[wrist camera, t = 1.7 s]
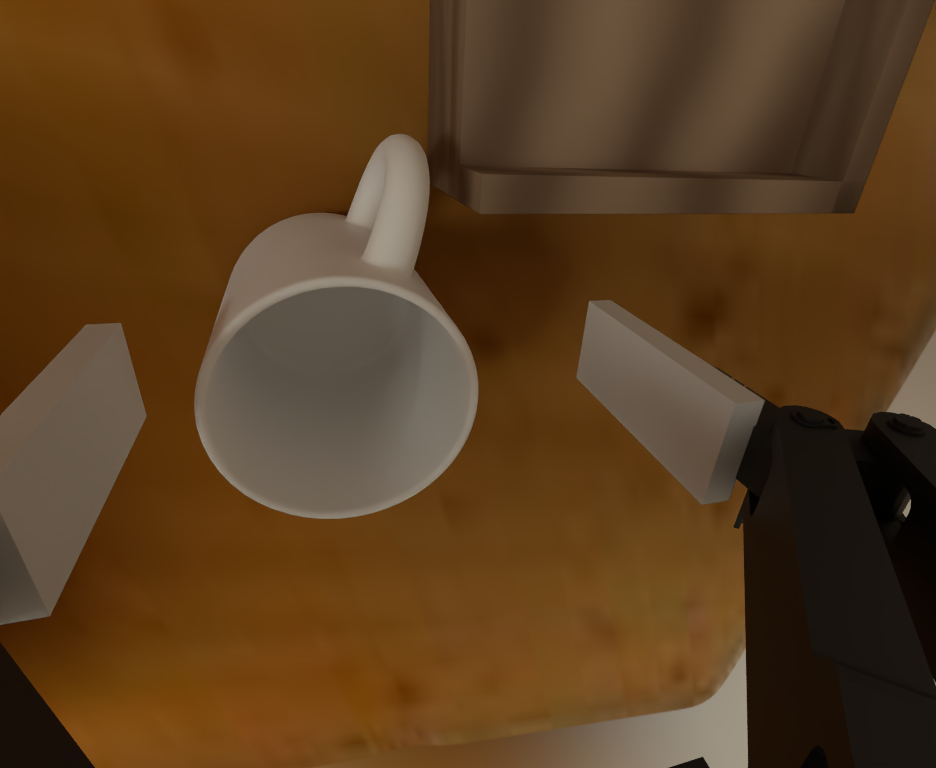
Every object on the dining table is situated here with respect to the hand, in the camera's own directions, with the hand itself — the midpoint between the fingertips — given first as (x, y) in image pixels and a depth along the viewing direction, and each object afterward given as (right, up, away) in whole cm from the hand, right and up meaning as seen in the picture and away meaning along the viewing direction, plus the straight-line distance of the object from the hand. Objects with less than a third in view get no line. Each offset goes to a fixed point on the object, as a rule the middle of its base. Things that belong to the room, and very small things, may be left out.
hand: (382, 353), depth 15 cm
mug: (-3, +5, +9) cm, 10 cm away
